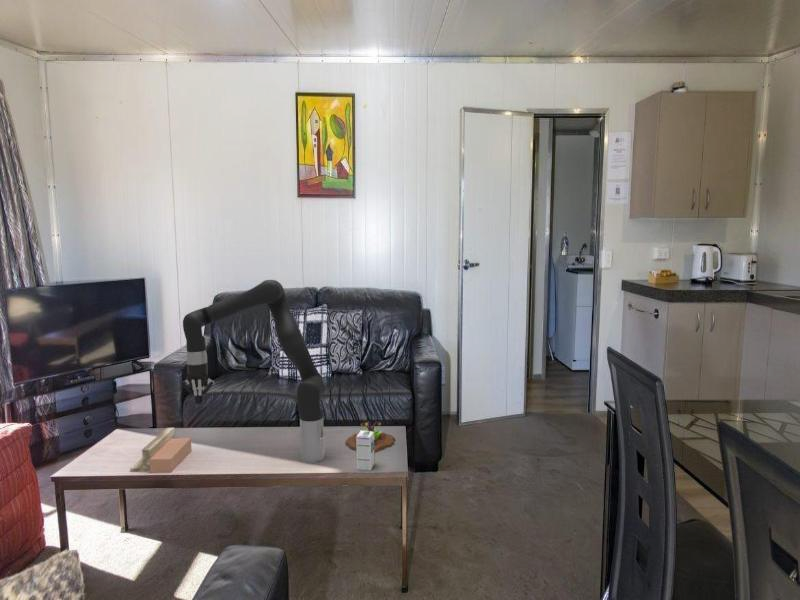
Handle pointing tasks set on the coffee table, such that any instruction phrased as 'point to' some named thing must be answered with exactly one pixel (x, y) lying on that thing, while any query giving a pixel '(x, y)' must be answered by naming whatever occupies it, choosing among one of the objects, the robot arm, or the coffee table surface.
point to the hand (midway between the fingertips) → (199, 404)
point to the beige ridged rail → (152, 450)
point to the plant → (380, 438)
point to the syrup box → (365, 450)
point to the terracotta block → (170, 455)
